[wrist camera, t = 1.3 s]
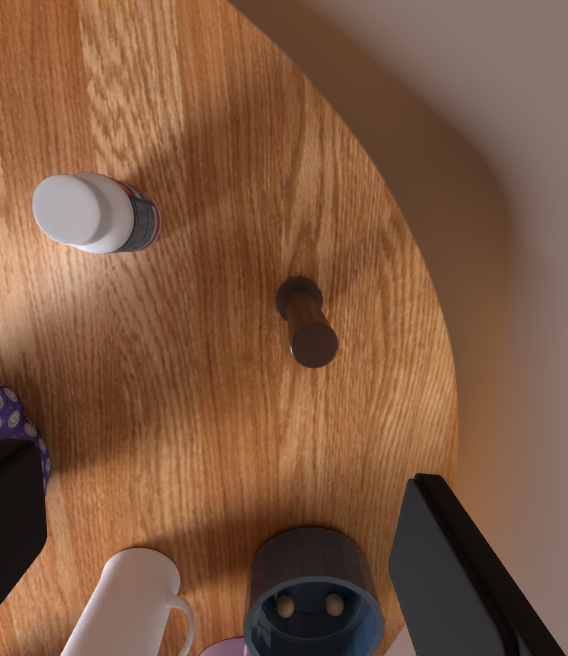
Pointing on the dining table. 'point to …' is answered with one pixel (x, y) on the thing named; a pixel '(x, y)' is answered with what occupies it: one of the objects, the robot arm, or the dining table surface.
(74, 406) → the dining table surface
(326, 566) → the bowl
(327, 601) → the bead
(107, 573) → the mug
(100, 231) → the pill bottle
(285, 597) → the bead
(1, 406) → the teapot
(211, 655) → the clip
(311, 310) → the rod
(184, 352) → the dining table surface
